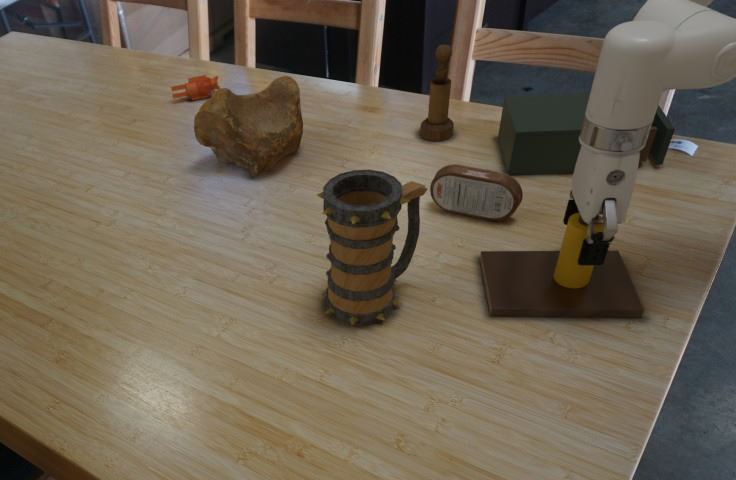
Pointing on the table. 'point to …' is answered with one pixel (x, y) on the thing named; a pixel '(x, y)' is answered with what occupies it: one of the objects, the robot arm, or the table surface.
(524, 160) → the cabinet
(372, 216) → the mug
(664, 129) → the drawer
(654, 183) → the table surface
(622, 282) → the board
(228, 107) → the rough brown rock
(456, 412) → the table surface
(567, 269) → the yellow bottle
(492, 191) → the tin
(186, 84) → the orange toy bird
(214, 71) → the table surface
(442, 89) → the mortar and pestle
